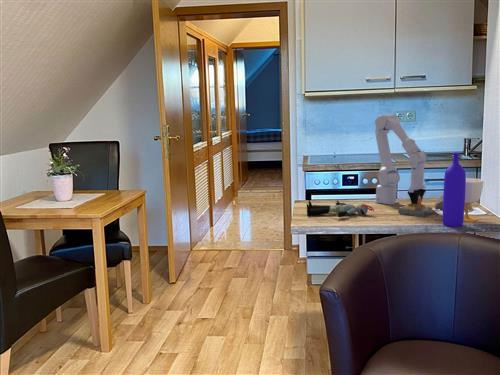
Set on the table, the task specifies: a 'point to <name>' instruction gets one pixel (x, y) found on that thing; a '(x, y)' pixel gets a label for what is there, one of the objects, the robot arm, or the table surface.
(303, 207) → the table surface
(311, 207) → the toy
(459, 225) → the bottle
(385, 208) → the table surface
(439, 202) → the stone
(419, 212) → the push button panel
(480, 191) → the cup
